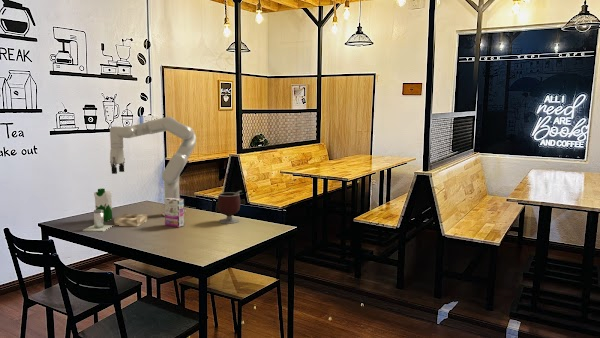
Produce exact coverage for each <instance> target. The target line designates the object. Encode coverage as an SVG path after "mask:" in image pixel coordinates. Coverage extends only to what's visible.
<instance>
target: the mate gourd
mask: <svg viewBox="0 0 600 338" xmlns="http://www.w3.org/2000/svg"><path fill="white" fill-rule="evenodd" d="M240 193H242V190H238V191H236V192H221V193H220V192H219V193H218V195H217V208H218V211H219V213H221V214H222V215H225V216H226V218H225V217H224V218H221V219H218V220H219V221H218V222H219V223H220V224H224V225H225V224H226V225H229V224H237V223H239V222H240V219H239V218H233V215H236V214H238V212H239V211H240V208H241V197H240Z"/></svg>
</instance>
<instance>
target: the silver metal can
mask: <svg viewBox="0 0 600 338" xmlns="http://www.w3.org/2000/svg"><path fill="white" fill-rule="evenodd" d="M93 225H94V228H103V227H104V225H105V222H104V210H102V209H98V210H96V209H94V210H93Z"/></svg>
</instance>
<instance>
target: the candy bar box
mask: <svg viewBox="0 0 600 338" xmlns="http://www.w3.org/2000/svg"><path fill="white" fill-rule="evenodd" d="M163 201H164V212H165V216H164V225H165V226H167V227H174V228H181V227H185V212H184V209H185V199H184V198H180V199H179V198H165V197H164V200H163Z"/></svg>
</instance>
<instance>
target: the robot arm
mask: <svg viewBox="0 0 600 338" xmlns="http://www.w3.org/2000/svg"><path fill="white" fill-rule="evenodd" d="M163 132H169V133H171V134H172V135H174V136H176V137H178V138H180V139H181V141H182V142H181V143H180V144H179V147H178V149H177V150H176V152H175V153H174V154H173V155H172V156H171V158H170V160H169V161H168V162H167V165H166V167H164V170H163V172H162V176H161V178H162V181H164V183H163V185H164V189H163V190H164V192H163V193H164V196H163V197H164V199H165V198H179V199H181V196H180V175H181V173H182V172H183V170H184V167H185V166H186V164H187V163H188V160H189V158H190V156H191V154H192V152H193V151H194V149H195V147H196V145H197V144H196V143H197V136H196V132H195V131H194V129H193V128H192V127H191V126H189V125H185V124H183V123H182V122H179V121H178V120H176V119H175V118H174V117H173V116H166V117H162V118H158V119H157V118H156V119H151V120H148V121H145V122H144V123H143V122H142V123H138V124H134V125H128V126H110V128H109V137H110V138H109V139H110V153H109V163H110V168H111V174H112V175H113V174H114V175H117V174H118V171H119V173H124V172H125V163H126V161H125V160H126V159H125V154H124V152H125V151H124V139H132V138H137V137H141V136H145V135H154V134H158V133H163ZM117 166H118V167H117ZM186 212H187V210H186V209H185V208H184V213H186ZM162 216H164V217H165V211H164V212H162Z"/></svg>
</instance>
